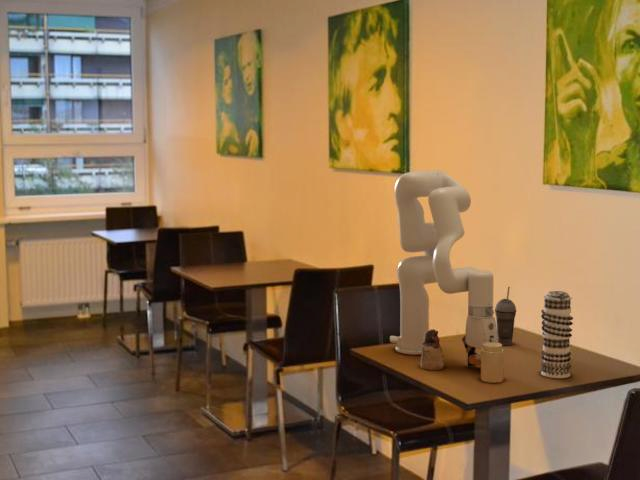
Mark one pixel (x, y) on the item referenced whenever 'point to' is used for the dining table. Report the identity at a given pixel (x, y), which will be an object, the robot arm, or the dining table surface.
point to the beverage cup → (505, 320)
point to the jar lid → (475, 359)
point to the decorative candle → (556, 335)
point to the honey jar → (492, 362)
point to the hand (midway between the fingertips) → (480, 368)
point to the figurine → (432, 352)
